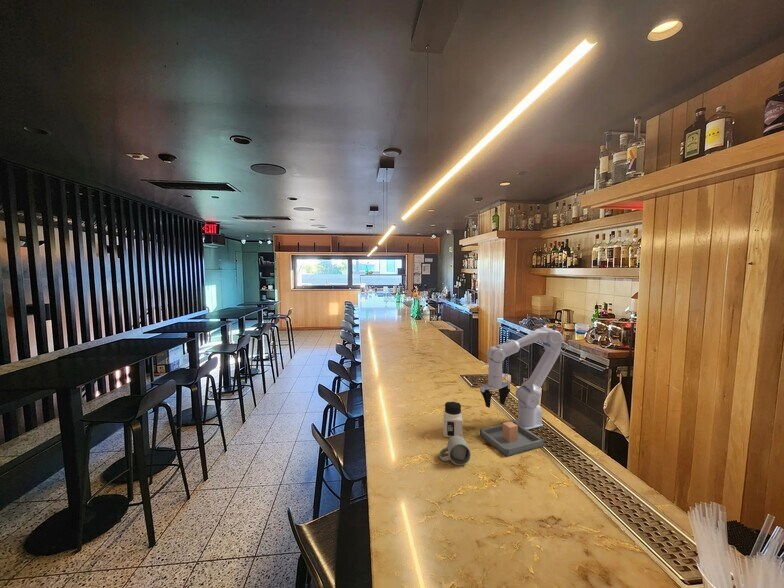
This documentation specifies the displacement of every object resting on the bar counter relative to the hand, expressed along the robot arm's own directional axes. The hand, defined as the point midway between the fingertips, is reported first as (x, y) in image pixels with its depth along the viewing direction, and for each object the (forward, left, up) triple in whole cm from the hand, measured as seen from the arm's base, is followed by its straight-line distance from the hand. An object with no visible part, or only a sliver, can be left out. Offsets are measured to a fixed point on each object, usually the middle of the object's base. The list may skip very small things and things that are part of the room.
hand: (495, 405), depth 135 cm
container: (+20, -2, -10) cm, 22 cm away
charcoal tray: (+2, +12, -9) cm, 15 cm away
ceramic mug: (+29, +14, -10) cm, 34 cm away
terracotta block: (+2, +12, -9) cm, 15 cm away
